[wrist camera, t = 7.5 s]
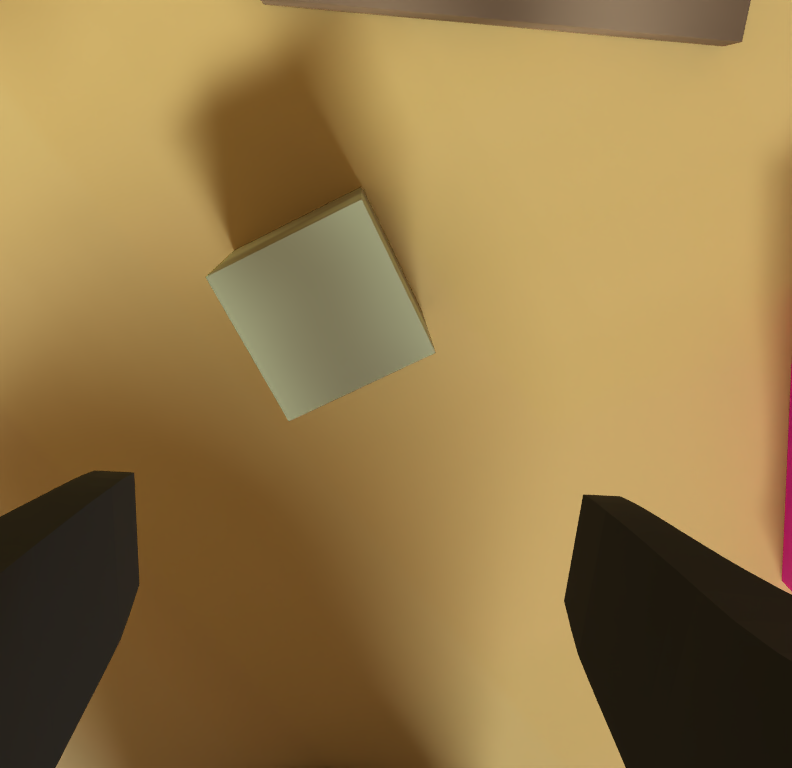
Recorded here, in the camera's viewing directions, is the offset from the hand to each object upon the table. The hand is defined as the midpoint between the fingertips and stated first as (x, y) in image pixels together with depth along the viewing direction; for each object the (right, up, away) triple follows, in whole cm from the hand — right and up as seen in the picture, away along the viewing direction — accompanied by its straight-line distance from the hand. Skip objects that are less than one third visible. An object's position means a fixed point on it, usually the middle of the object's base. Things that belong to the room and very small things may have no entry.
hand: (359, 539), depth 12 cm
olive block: (-1, +5, +9) cm, 11 cm away
